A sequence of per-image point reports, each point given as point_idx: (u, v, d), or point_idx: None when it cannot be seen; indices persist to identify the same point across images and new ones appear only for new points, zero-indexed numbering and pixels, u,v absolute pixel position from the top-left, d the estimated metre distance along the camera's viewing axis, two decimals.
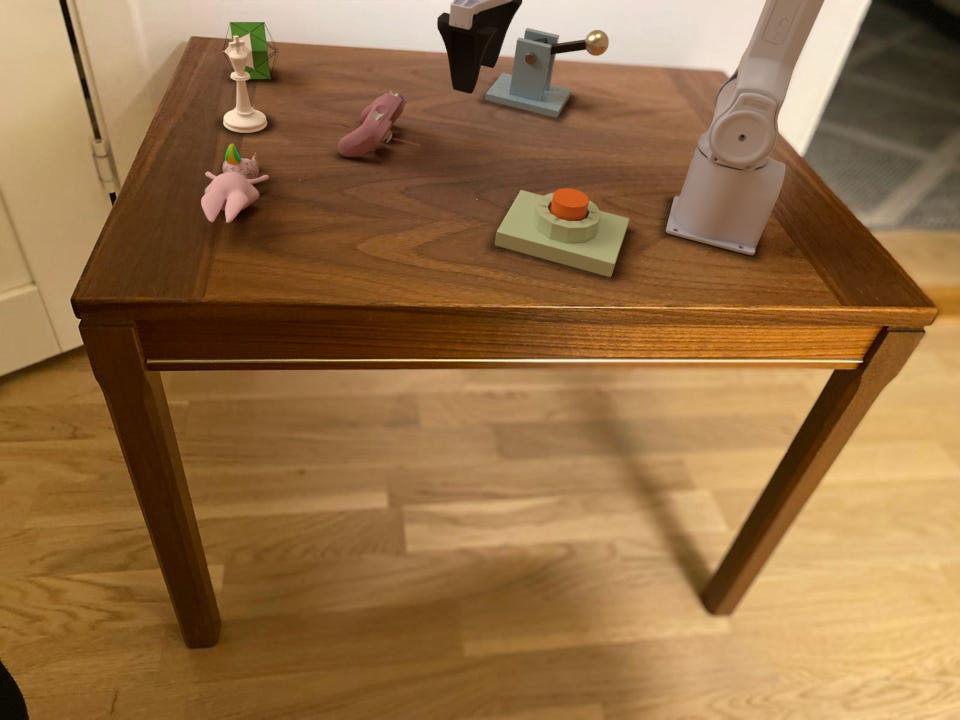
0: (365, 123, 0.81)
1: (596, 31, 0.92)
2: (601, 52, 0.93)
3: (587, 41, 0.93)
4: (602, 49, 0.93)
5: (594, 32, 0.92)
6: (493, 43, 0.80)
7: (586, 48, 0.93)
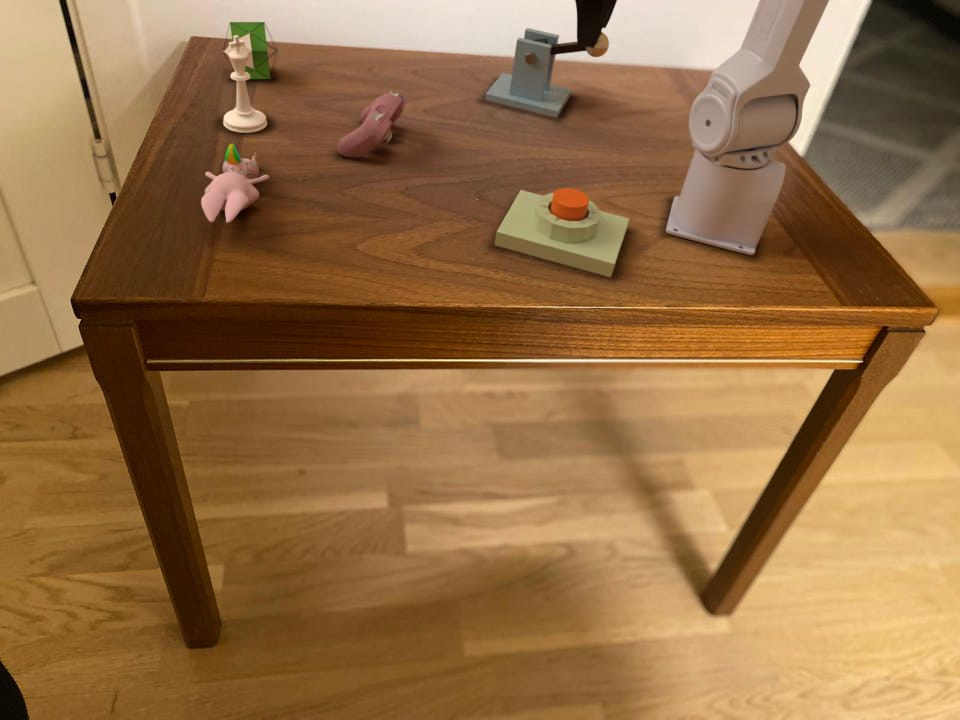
0: (365, 123, 0.81)
1: None
2: (601, 54, 0.93)
3: None
4: (602, 51, 0.93)
5: None
6: None
7: (586, 49, 0.94)
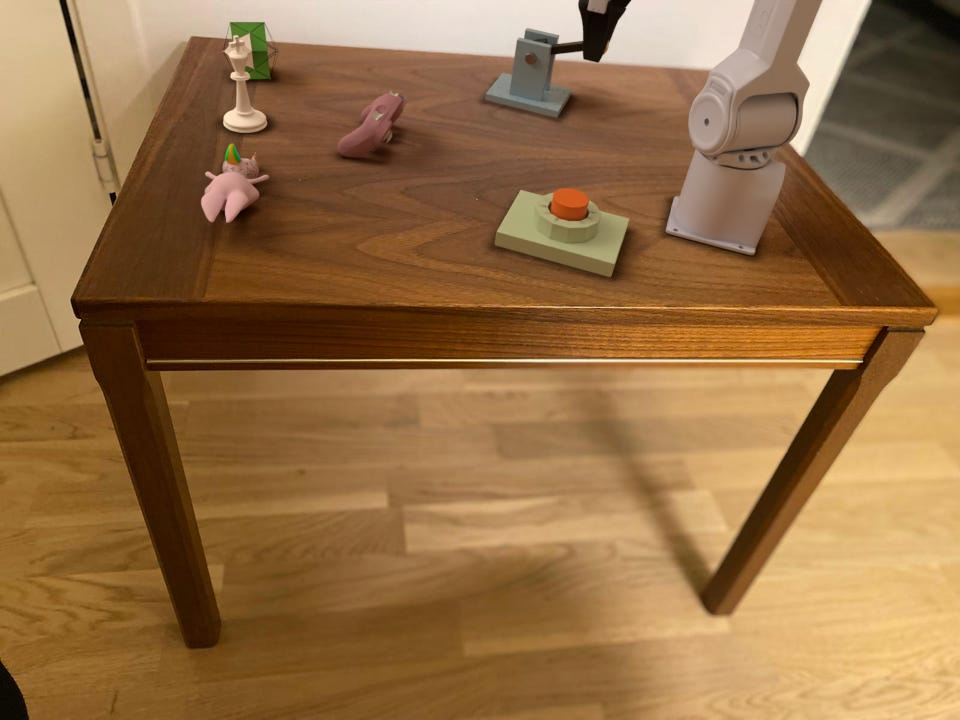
0: (365, 123, 0.81)
1: None
2: None
3: None
4: None
5: None
6: None
7: None
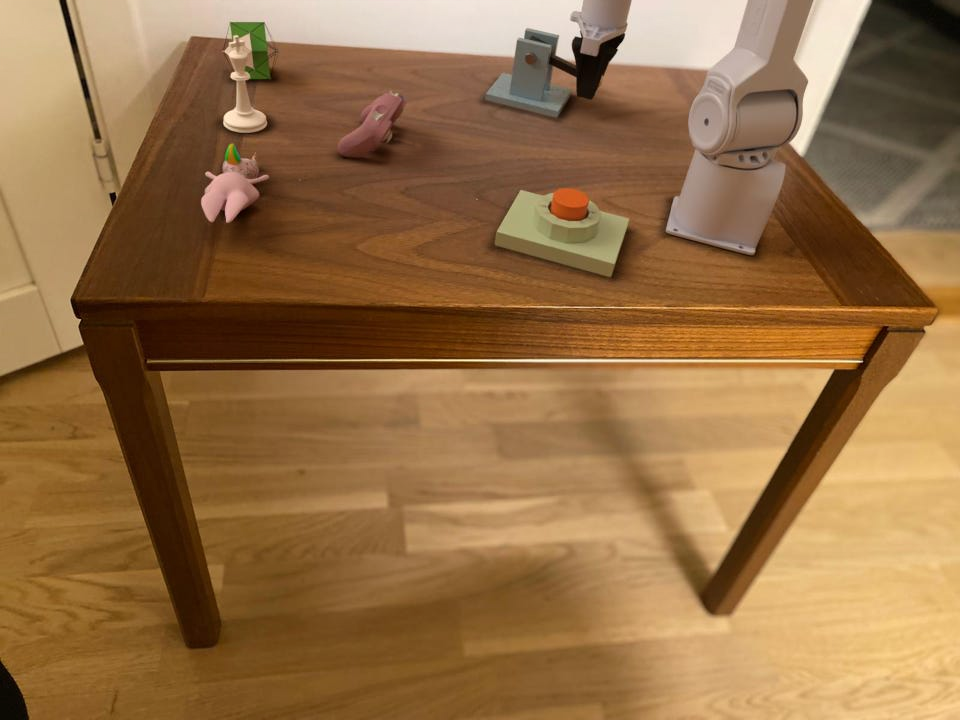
0: (365, 123, 0.81)
1: None
2: None
3: None
4: None
5: None
6: None
7: None
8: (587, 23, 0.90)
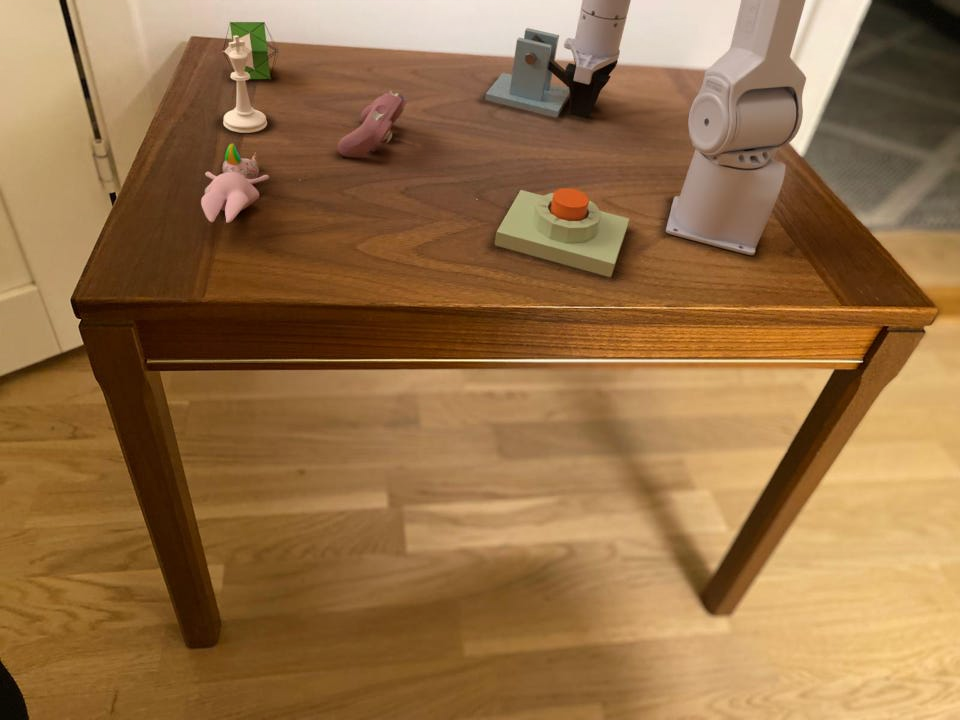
0: (365, 123, 0.81)
1: None
2: None
3: None
4: None
5: None
6: None
7: None
8: (580, 51, 0.92)
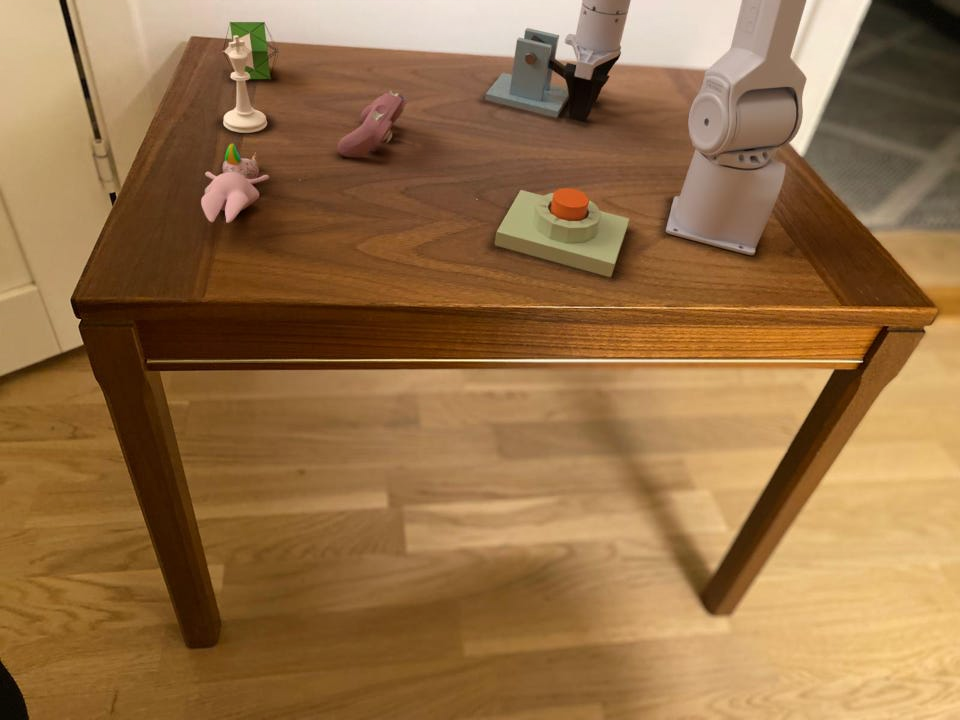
0: (365, 123, 0.81)
1: None
2: None
3: None
4: None
5: None
6: None
7: None
8: (581, 46, 0.92)
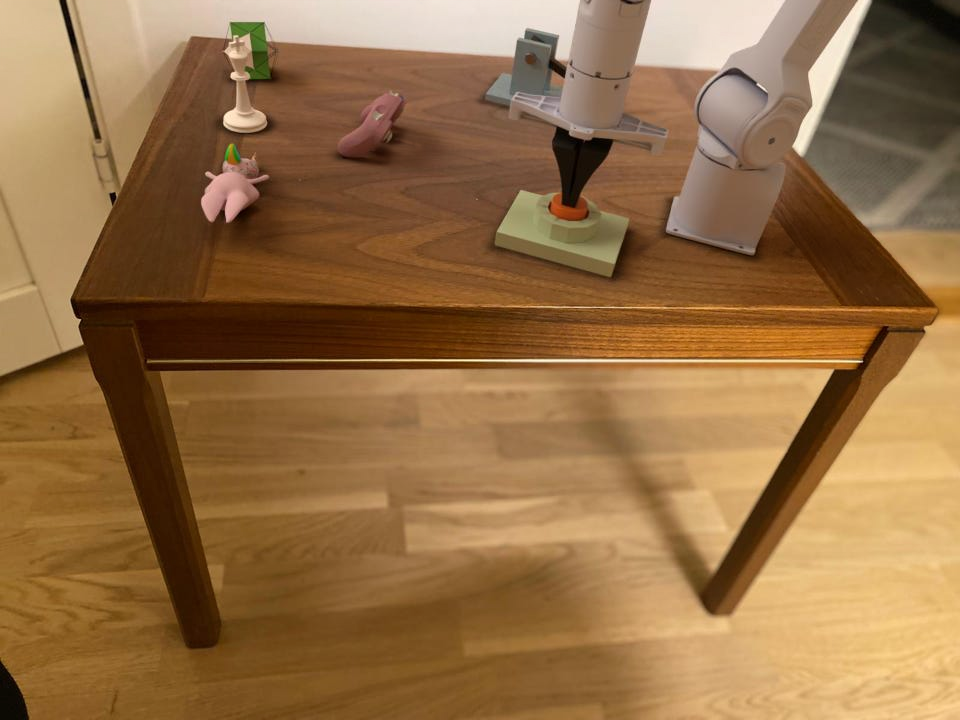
0: (365, 123, 0.81)
1: None
2: None
3: None
4: None
5: None
6: (573, 175, 0.73)
7: None
8: (614, 127, 0.66)
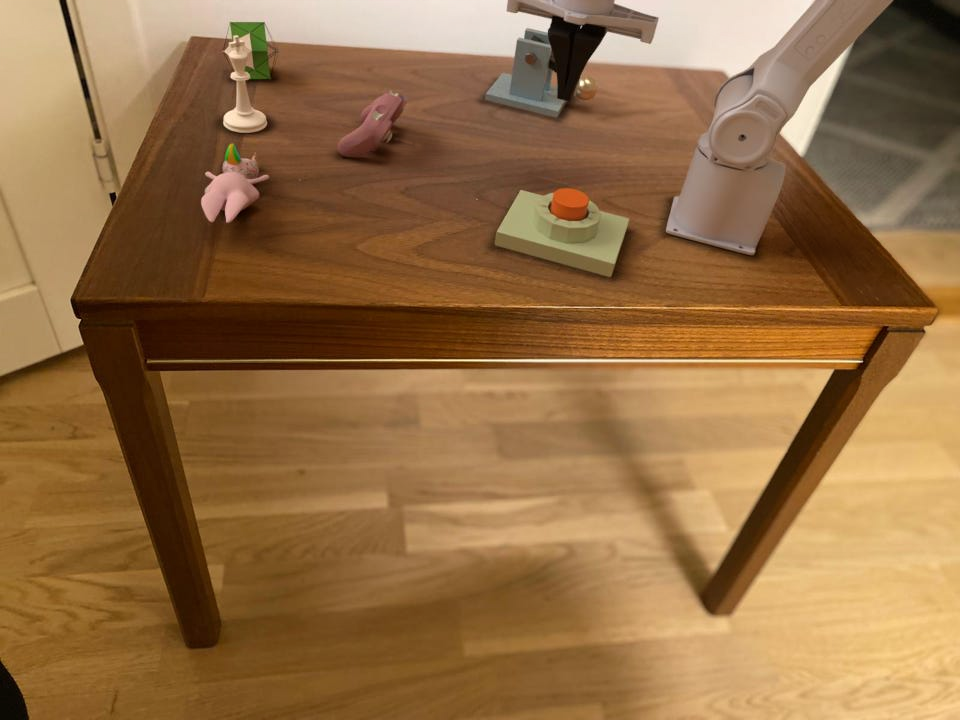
0: (365, 123, 0.81)
1: (593, 80, 0.96)
2: (584, 99, 0.98)
3: (581, 82, 0.96)
4: (586, 98, 0.97)
5: (591, 80, 0.96)
6: (568, 70, 0.76)
7: (576, 86, 0.97)
8: (606, 14, 0.70)
